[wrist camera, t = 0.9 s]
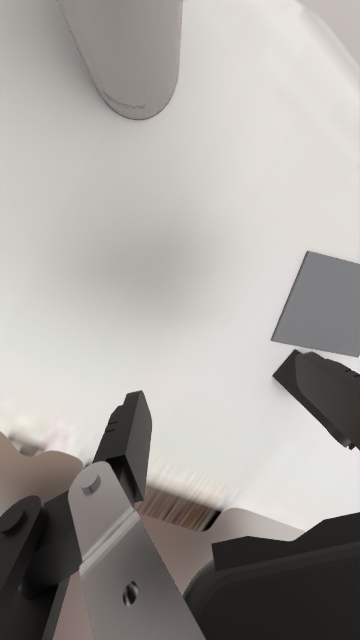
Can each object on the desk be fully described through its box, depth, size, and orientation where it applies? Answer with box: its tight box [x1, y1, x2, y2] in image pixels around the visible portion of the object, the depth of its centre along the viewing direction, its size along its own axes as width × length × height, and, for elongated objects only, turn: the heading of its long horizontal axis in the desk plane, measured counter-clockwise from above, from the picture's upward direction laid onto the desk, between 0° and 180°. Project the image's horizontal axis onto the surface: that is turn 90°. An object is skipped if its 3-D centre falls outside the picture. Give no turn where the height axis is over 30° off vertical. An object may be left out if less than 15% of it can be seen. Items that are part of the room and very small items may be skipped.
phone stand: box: [273, 350, 355, 450], centre depth 29 cm, size 9×6×12 cm, turn 59°
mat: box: [271, 251, 360, 357], centre depth 31 cm, size 14×16×1 cm
